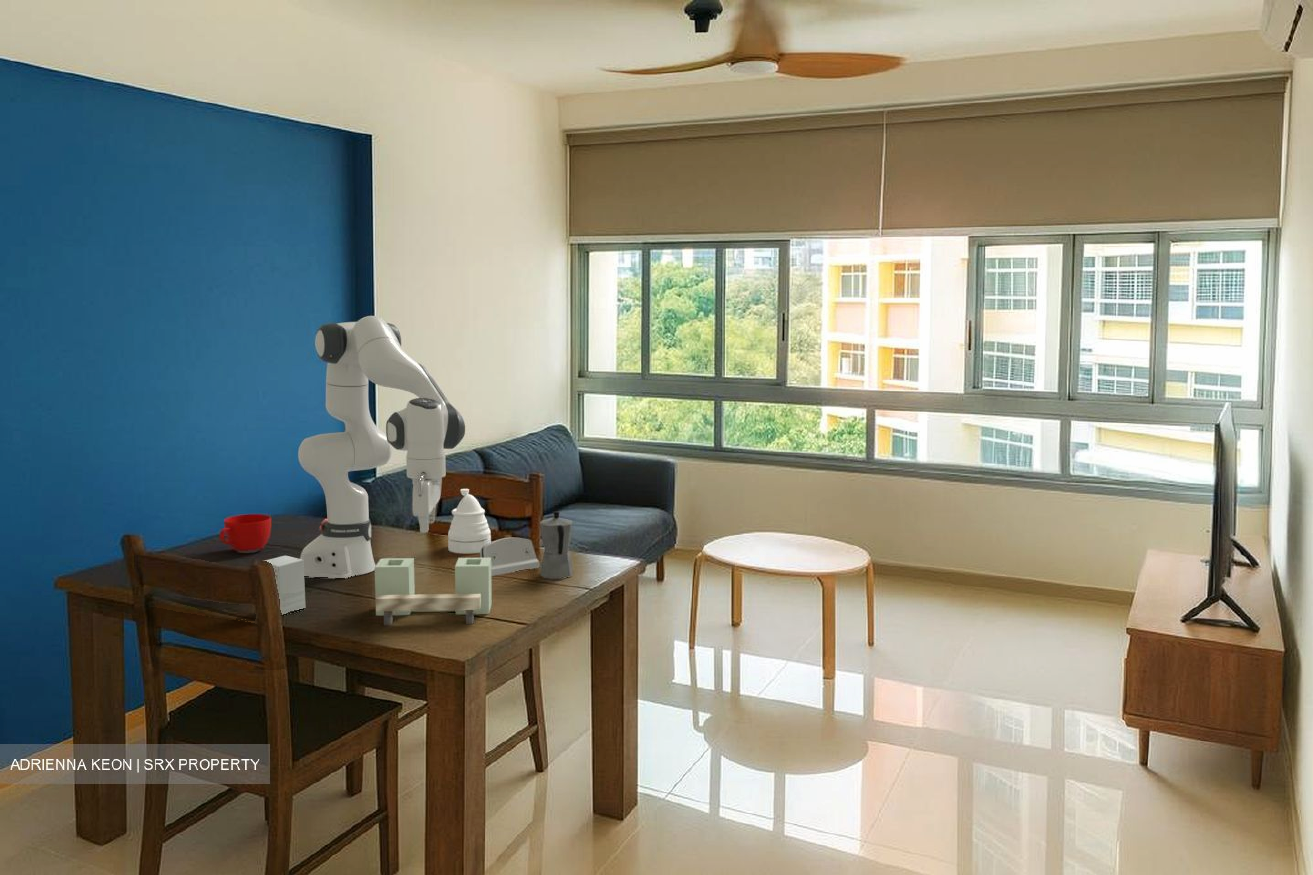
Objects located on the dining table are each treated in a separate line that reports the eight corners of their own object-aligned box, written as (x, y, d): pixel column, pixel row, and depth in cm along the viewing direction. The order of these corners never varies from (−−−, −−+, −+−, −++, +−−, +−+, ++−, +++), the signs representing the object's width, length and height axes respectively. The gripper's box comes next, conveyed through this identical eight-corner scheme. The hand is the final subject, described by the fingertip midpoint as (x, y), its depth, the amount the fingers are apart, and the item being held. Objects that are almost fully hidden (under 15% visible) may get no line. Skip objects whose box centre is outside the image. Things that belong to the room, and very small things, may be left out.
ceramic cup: (205, 557, 295) (203, 523, 293) (248, 544, 310) (247, 512, 309) (239, 562, 290) (237, 528, 288) (281, 548, 305) (280, 516, 304)
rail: (376, 625, 237) (375, 598, 236) (378, 621, 240) (378, 594, 239) (479, 624, 239) (479, 597, 238) (481, 620, 241) (480, 593, 241)
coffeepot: (536, 569, 286) (536, 507, 284) (569, 567, 288) (569, 505, 286) (544, 584, 271) (544, 519, 269) (578, 582, 274) (579, 517, 271)
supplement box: (287, 603, 252) (285, 554, 250) (306, 609, 248) (304, 559, 246) (261, 611, 246) (259, 560, 244) (280, 617, 242) (278, 565, 240)
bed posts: (376, 615, 244) (374, 567, 242) (382, 605, 252) (381, 558, 250) (488, 613, 246) (488, 566, 244) (491, 603, 254) (491, 557, 252)
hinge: (488, 576, 278) (482, 540, 280) (481, 578, 282) (475, 543, 283) (541, 567, 288) (535, 532, 290) (533, 569, 292) (527, 535, 293)
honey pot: (439, 548, 308) (438, 490, 306) (472, 541, 318) (472, 484, 315) (466, 555, 300) (465, 496, 297) (499, 548, 310) (499, 490, 307)
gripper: (433, 476, 224) (435, 537, 226) (445, 461, 244) (446, 518, 246) (404, 476, 223) (406, 538, 225) (419, 462, 244) (420, 518, 245)
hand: (427, 527), depth 236 cm, fingers open, 8 cm apart
